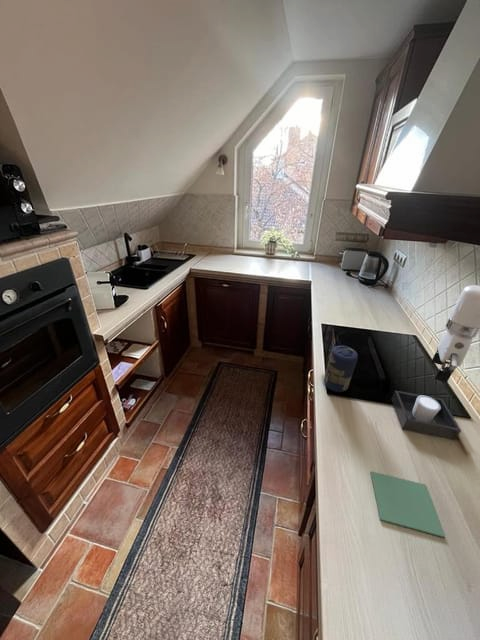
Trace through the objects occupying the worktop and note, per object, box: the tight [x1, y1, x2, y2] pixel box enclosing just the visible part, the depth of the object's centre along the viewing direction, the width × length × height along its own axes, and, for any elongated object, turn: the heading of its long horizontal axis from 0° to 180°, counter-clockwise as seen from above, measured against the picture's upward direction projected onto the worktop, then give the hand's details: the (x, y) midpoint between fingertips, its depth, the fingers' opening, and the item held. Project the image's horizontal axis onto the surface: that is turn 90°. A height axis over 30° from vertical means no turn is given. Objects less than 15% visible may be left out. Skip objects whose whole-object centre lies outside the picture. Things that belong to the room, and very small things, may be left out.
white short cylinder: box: [412, 394, 441, 422], centre depth 87 cm, size 7×7×7 cm
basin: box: [390, 390, 462, 441], centre depth 88 cm, size 16×14×5 cm
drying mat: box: [370, 471, 446, 539], centre depth 66 cm, size 14×12×1 cm
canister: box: [323, 345, 359, 393], centre depth 98 cm, size 10×10×18 cm
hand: (438, 371), depth 84 cm, fingers open, 9 cm apart
